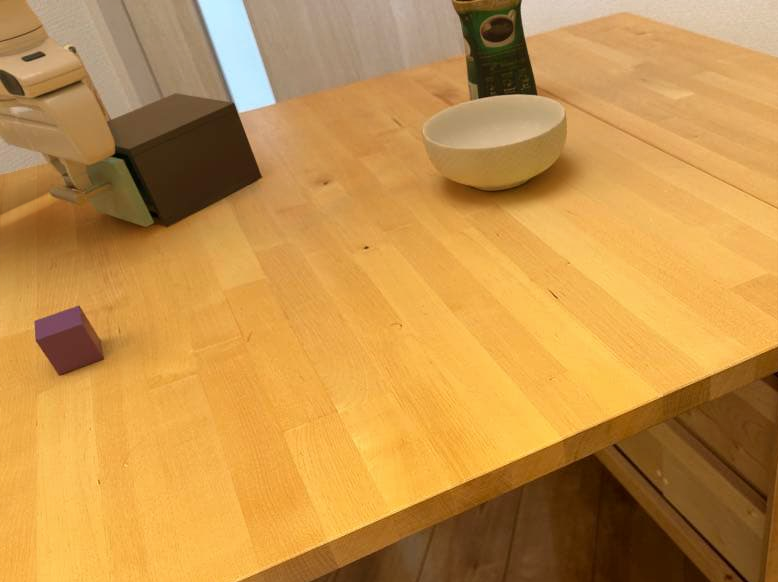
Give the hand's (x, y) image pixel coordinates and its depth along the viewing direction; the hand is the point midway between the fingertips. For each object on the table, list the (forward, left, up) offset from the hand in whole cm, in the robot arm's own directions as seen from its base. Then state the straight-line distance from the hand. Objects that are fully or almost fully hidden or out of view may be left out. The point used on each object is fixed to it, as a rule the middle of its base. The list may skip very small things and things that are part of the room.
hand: (80, 187), depth 89 cm
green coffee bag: (+23, +51, -6) cm, 56 cm away
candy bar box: (-16, +11, -6) cm, 20 cm away
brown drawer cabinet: (0, +12, -6) cm, 13 cm away
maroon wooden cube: (+23, -16, -6) cm, 29 cm away
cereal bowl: (+38, +31, -6) cm, 49 cm away
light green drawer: (0, +7, -5) cm, 9 cm away
